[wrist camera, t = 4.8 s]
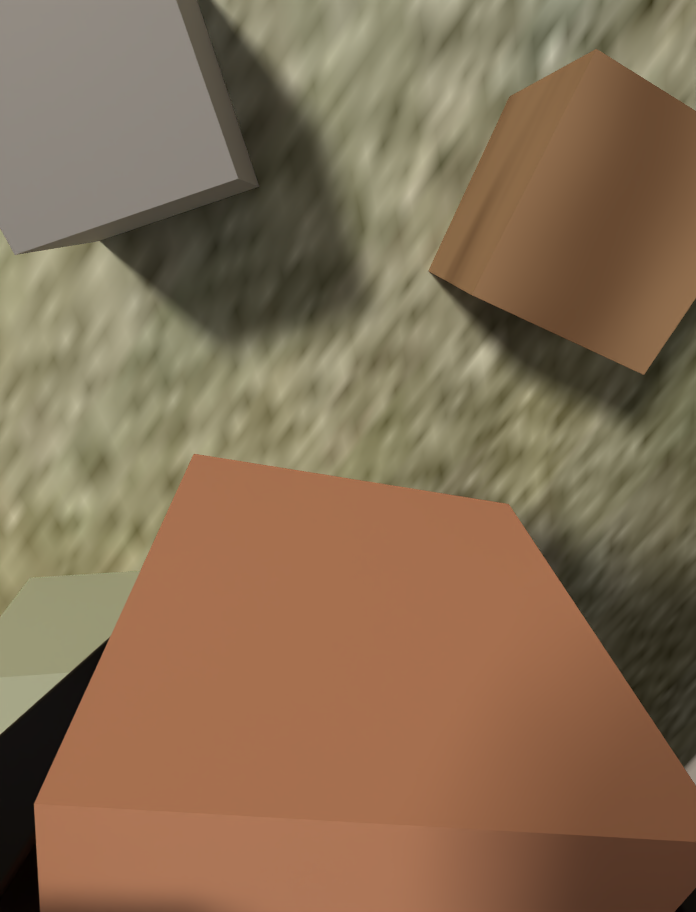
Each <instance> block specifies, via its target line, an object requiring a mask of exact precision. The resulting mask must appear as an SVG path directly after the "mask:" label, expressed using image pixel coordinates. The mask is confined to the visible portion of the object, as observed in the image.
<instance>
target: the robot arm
mask: <svg viewBox="0 0 696 912" xmlns="http://www.w3.org/2000/svg"><path fill="white" fill-rule="evenodd" d="M109 638H110V637H109ZM109 638H108V639H107V640H106V641H104V642H103V643H102V644H101V645H100V646H99V647H98V648H97V649H96V650H94V651H93V652H92V653H91V654H90V655H89V656H88V657H87V658H85V659H84V660H83V661H82V662H81V663H80V664H79V665H78V666H76V667H75V668H74V669H73V670H72V671H71V672H70V673H69V674H67V675H66V676H65V677H64V678H63V679H62V680H61V681H60V682H58V683H57V684H56V685H55V686H54V687H53V688H52V689H51V690H49V691H48V692H47V693H46V694H45V695H44V696H43V697H42V698H40V699H39V700H38V701H37V702H36V703H35V704H34V705H33V706H31V707H30V708H29V709H28V710H27V711H26V712H25V713H24V714H22V715H21V716H20V717H19V718H18V719H17V720H16V721H15V722H13V723H12V724H11V725H10V726H9V727H8V728H7V729H6V730H4V731H3V732H2V733H1V734H0V912H40V900H39V883H38V866H37V849H36V832H35V814H34V803H35V800H36V798H37V796H38V794H39V792H40V789H41V787H42V785H43V783H44V781H45V779H46V776H47V774H48V772H49V770H50V768H51V765H52V763H53V761H54V759H55V757H56V754H57V752H58V750H59V748H60V746H61V744H62V741H63V739H64V737H65V735H66V733H67V730H68V728H69V726H70V724H71V722H72V719H73V717H74V715H75V713H76V711H77V708H78V706H79V704H80V702H81V700H82V698H83V695H84V693H85V691H86V689H87V687H88V684H89V682H90V680H91V678H92V676H93V673H94V671H95V669H96V667H97V665H98V663H99V660H100V658H101V656H102V654H103V652H104V649H105V647H106V645H107V643H108V641H109ZM675 912H696V888H695V889H694V890H693V891H692V893H691V894H690V895H689V896H688V897H687V898H686V899H685V900H684V902H683V903H682V904H681V905H680V906H679V907H678V908H677V909H676V911H675Z"/></svg>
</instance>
